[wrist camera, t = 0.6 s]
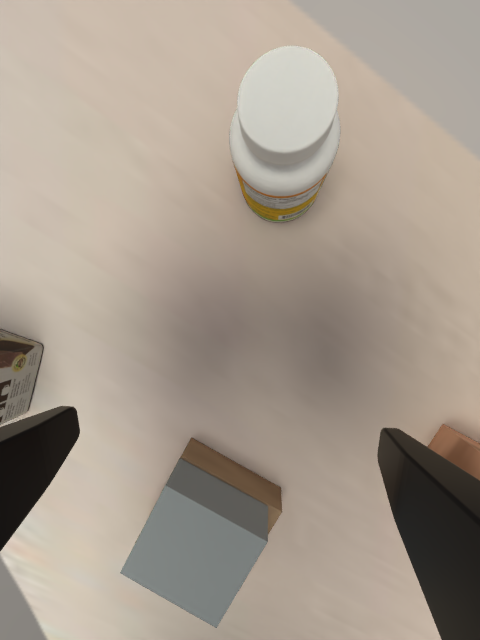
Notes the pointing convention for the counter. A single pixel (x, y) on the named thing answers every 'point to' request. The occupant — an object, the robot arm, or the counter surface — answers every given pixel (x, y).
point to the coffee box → (17, 374)
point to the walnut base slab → (235, 477)
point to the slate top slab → (199, 543)
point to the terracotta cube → (457, 450)
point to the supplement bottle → (285, 131)
